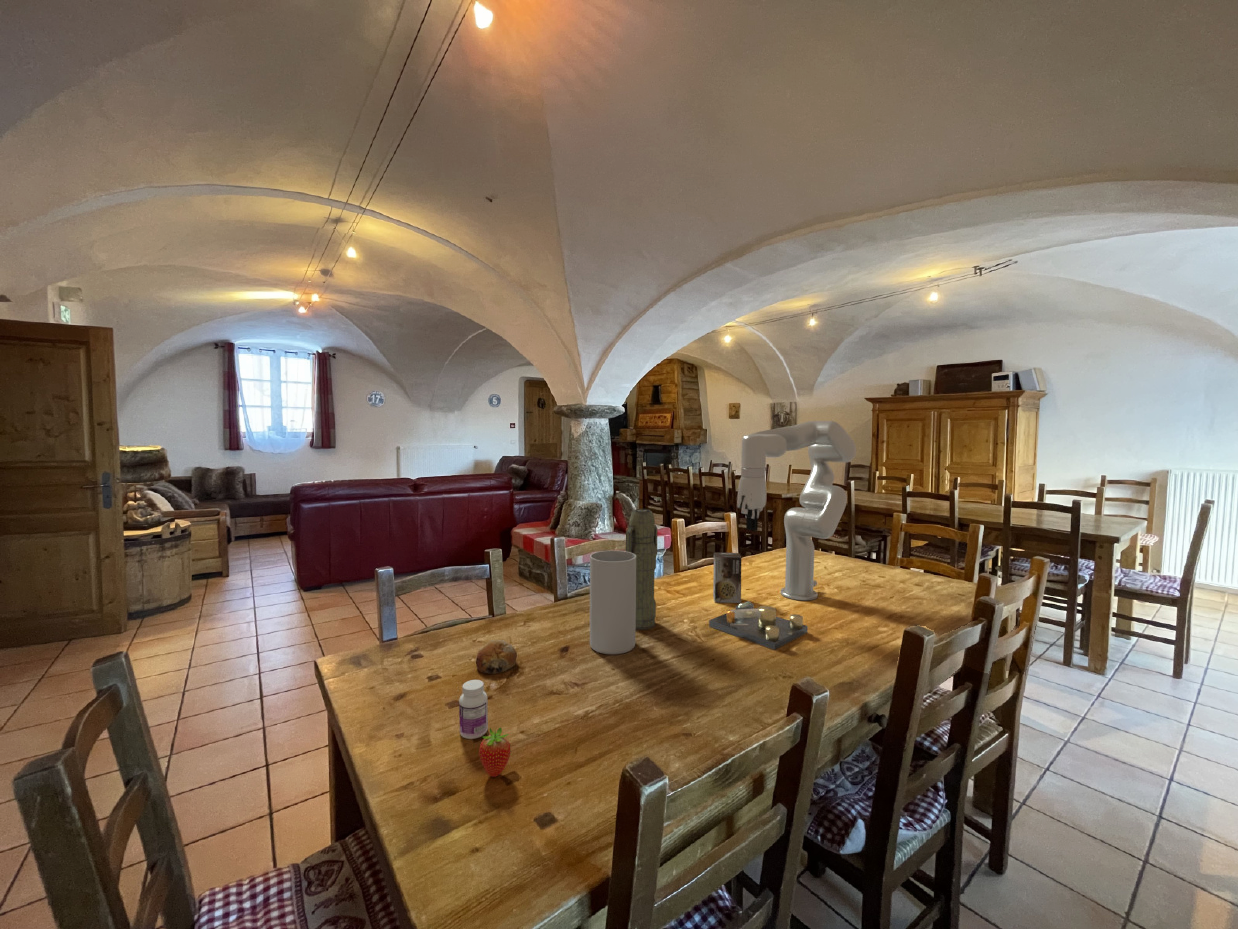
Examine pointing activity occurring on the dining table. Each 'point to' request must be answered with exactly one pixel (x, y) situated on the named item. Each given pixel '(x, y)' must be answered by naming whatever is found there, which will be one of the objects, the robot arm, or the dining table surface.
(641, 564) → the stone statue
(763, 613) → the ball-ended bar
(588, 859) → the dining table surface
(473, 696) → the pill bottle
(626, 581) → the cylinder vase
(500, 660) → the bread roll
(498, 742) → the fruit
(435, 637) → the dining table surface
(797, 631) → the base
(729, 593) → the coffee box
